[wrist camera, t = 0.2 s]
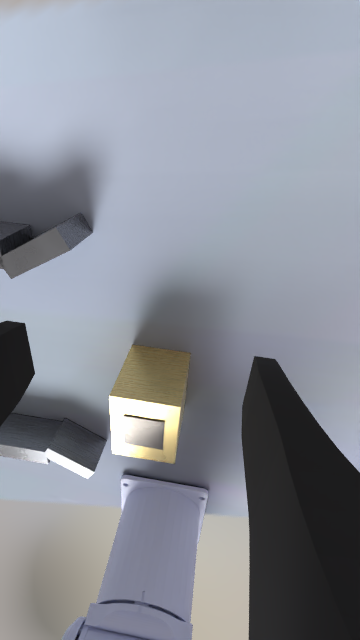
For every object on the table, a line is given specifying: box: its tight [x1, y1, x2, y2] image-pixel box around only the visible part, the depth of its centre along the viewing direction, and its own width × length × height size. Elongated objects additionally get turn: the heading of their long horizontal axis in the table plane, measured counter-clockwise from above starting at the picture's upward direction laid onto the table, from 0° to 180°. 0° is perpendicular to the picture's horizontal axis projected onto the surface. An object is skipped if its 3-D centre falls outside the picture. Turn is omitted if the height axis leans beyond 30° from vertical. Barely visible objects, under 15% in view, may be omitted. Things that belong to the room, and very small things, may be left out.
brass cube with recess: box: [109, 345, 191, 464], centre depth 21 cm, size 5×4×5 cm
